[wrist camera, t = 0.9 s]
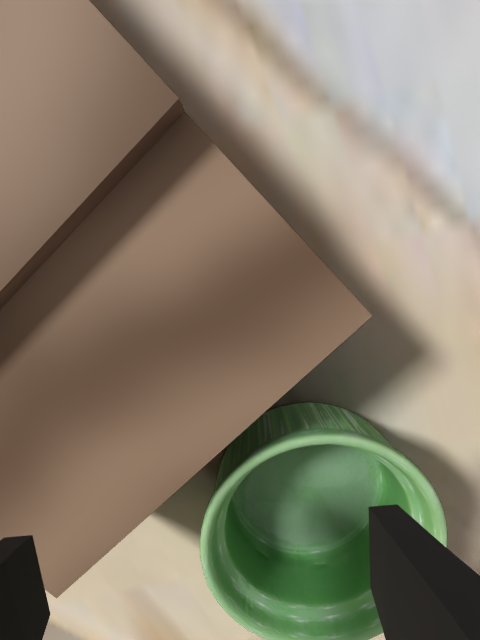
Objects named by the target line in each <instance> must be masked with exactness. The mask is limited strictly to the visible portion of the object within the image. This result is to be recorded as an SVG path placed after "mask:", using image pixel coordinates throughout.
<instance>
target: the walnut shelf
mask: <svg viewBox="0 0 480 640" xmlns="http://www.w3.org/2000/svg"><path fill="white" fill-rule="evenodd" d="M370 317H372V315H371V314H370V313H369V312H368V311H367V309H366V308H365V307H364V306H363V305H362V304H361V303H360V302H359V301H358V300H357V299H356V297H355V296H354V295H353V294H352V293H351V292H350V291H349V290H348V289H347V288H346V287H345V285H344V284H343V283H342V282H341V281H340V280H339V279H338V278H337V277H336V276H335V275H334V274H333V272H332V271H331V270H330V269H329V268H328V267H327V266H326V265H325V264H324V263H323V262H322V260H321V259H320V258H319V257H318V256H317V255H316V254H315V253H314V252H313V251H312V250H311V248H310V247H309V246H308V245H307V244H306V243H305V242H304V241H303V240H302V239H301V238H300V237H299V235H298V234H297V233H296V232H295V231H294V230H293V229H292V228H291V227H290V226H289V225H288V223H287V222H286V221H285V220H284V219H283V218H282V217H281V216H280V215H279V214H278V213H277V211H276V210H275V209H274V208H273V207H272V206H271V205H270V204H269V203H268V202H267V201H266V200H265V198H264V197H263V196H262V195H261V194H260V193H259V192H258V191H257V190H256V189H255V188H254V186H253V185H252V184H251V183H250V182H249V181H248V180H247V179H246V178H245V177H244V176H243V175H242V173H241V172H240V171H239V170H238V169H237V168H236V167H235V166H234V165H233V164H232V163H231V161H230V160H229V159H228V158H227V157H226V156H225V155H224V154H223V153H222V152H221V151H220V149H219V148H218V147H217V146H216V145H215V144H214V143H213V142H212V141H211V140H210V139H209V138H208V136H207V135H206V134H205V133H204V132H203V131H202V130H201V129H200V128H199V127H198V126H197V124H196V123H195V122H194V121H193V120H192V119H191V118H190V117H189V116H188V115H187V114H186V112H185V111H184V109H183V106H182V104H181V102H180V99H179V98H178V97H177V96H176V95H175V93H174V92H173V91H172V90H171V89H170V88H169V87H168V86H167V85H166V84H165V83H164V81H163V80H162V79H161V78H160V77H159V76H158V75H157V74H156V73H155V72H154V71H153V69H152V68H151V67H150V66H149V65H148V64H147V63H146V62H145V61H144V60H143V58H142V57H141V56H140V55H139V54H138V53H137V52H136V51H135V50H134V49H133V48H132V46H131V45H130V44H129V43H128V42H127V41H126V40H125V39H124V38H123V37H122V36H121V34H120V33H119V32H118V31H117V30H116V29H115V28H114V27H113V26H112V25H111V24H110V22H109V21H108V20H107V19H106V18H105V17H104V16H103V15H102V14H101V13H100V12H99V10H98V9H97V8H96V7H95V6H94V5H93V4H92V3H91V2H90V1H89V0H0V540H2V539H3V538H4V537H16V536H27V535H33V540H34V544H35V548H36V553H37V557H38V562H39V566H40V571H41V575H42V580H43V584H44V589H45V590H46V591H48V592H49V593H50V594H52V595H53V596H54V597H56V598H57V597H59V596H60V595H61V594H62V593H63V592H64V591H65V590H66V589H68V588H69V587H70V586H71V585H72V584H73V583H74V582H75V581H76V580H78V579H79V578H80V577H81V576H82V575H83V574H84V573H85V572H87V571H88V570H89V569H90V568H91V567H92V566H93V565H94V564H95V563H97V562H98V561H99V560H100V559H101V558H102V557H103V556H104V555H106V554H107V553H108V552H109V551H110V550H111V549H112V548H113V547H114V546H116V545H117V544H118V543H119V542H120V541H121V540H122V539H123V538H125V537H126V536H127V535H128V534H129V533H130V532H131V531H132V530H133V529H135V528H136V527H137V526H138V525H139V524H140V523H141V522H142V521H144V520H145V519H146V518H147V517H148V516H149V515H150V514H151V513H152V512H154V511H155V510H156V509H157V508H158V507H159V506H160V505H161V504H163V503H164V502H165V501H166V500H167V499H168V498H169V497H170V496H171V495H173V494H174V493H175V492H176V491H177V490H178V489H179V488H180V487H182V486H183V485H184V484H185V483H186V482H187V481H188V480H189V479H190V478H192V477H193V476H194V475H195V474H196V473H197V472H198V471H199V470H201V469H202V468H203V467H204V466H205V465H206V464H207V463H208V462H209V461H211V460H212V459H213V458H214V457H215V456H216V455H217V454H218V453H220V452H221V451H222V450H223V449H224V448H225V447H226V446H227V445H228V444H230V443H231V442H232V441H233V440H234V439H235V438H236V437H237V436H239V435H240V434H241V433H242V432H243V431H244V430H245V429H246V428H247V427H249V426H250V425H251V424H252V423H253V422H254V421H255V420H256V419H258V418H259V417H260V416H261V415H262V414H263V413H264V412H265V411H266V410H268V409H269V408H270V407H271V406H272V405H273V404H274V403H275V402H277V401H278V400H279V399H280V398H281V397H282V396H283V395H284V394H285V393H287V392H288V391H289V390H290V389H291V388H292V387H293V386H294V385H296V384H297V383H298V382H299V381H300V380H301V379H302V378H303V377H304V376H306V375H307V374H308V373H309V372H310V371H311V370H312V369H313V368H315V367H316V366H317V365H318V364H319V363H320V362H321V361H322V360H323V359H325V358H326V357H327V356H328V355H329V354H330V353H331V352H332V351H334V350H335V349H336V348H337V347H338V346H339V345H340V344H341V343H342V342H344V341H345V340H346V339H347V338H348V337H349V336H350V335H351V334H353V333H354V332H355V331H356V330H357V329H358V328H359V327H360V326H362V325H363V324H364V323H365V322H366V321H367V320H368V319H369V318H370Z"/></svg>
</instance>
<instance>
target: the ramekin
mask: <svg viewBox="0 0 480 640" xmlns="http://www.w3.org/2000/svg"><path fill="white" fill-rule="evenodd" d="M395 504H397V505H399V506H400V507H401V508H402V509H403V510H404V511H405V512H407V513H408V514H409V515H410V516H411V517H412V518H413V519H414V520H416V521H417V522H418V523H419V524H420V525H421V526H422V527H423V528H425V529H426V530H427V531H428V532H429V533H430V534H431V535H432V536H434V537H435V538H436V539H437V540H438V541H439V542H440V543H442V544H443V545H444V546H445V547H446V548H447V525H446V519H445V514H444V510H443V507H442V504H441V502H440V500H439V497H438V495H437V493H436V491H435V489H434V488H433V486H432V485H431V483H430V482H429V480H428V479H427V478H426V476H425V475H424V474H423V473H422V471H421V470H420V469H419V468H418V467H417V466H416V465H415V464H414V463H413V462H411V461H410V460H409V459H408V458H407V457H406V456H404V455H403V454H402V453H400V452H399V451H397V450H396V449H394V448H393V447H392V446H391V445H390V444H389V443H388V441H387V440H386V439H385V438H384V437H383V436H382V435H381V434H380V433H379V432H378V431H377V430H376V429H375V428H373V427H372V426H371V425H370V424H369V423H368V422H367V421H365V420H364V419H362V418H361V417H359V416H358V415H356V414H354V413H352V412H350V411H348V410H346V409H343V408H340V407H337V406H334V405H330V404H322V403H310V402H308V403H296V404H290V405H285V406H280V407H277V408H274V409H272V410H270V411H267V412H265V413H264V414H262V415H261V416H260V417H259V418H258V419H256V420H255V421H254V422H253V423H252V424H251V425H250V426H249V427H247V428H246V429H245V430H244V431H243V432H242V433H241V434H240V435H239V436H237V437H236V438H235V439H234V440H233V441H232V442H231V443H230V445H229V447H228V448H227V450H226V452H225V454H224V456H223V459H222V461H221V464H220V469H219V472H218V476H217V480H216V485H215V490H214V493H213V495H212V497H211V500H210V502H209V504H208V507H207V510H206V513H205V516H204V519H203V524H202V528H201V535H200V558H201V564H202V569H203V573H204V576H205V579H206V582H207V584H208V587H209V589H210V591H211V592H212V594H213V596H214V597H215V599H216V600H217V602H218V603H219V604H220V606H221V607H222V608H223V609H224V610H225V611H226V612H227V613H228V614H229V615H230V616H231V617H232V618H233V619H234V620H235V621H236V622H237V623H239V624H240V625H242V626H243V627H244V628H245V629H247V630H249V631H250V632H252V633H254V634H256V635H258V636H260V637H262V638H265V639H267V640H368V639H371V638H373V637H375V636H377V635H379V634H381V633H383V628H382V625H381V622H380V619H379V615H378V612H377V608H376V605H375V602H374V598H373V595H372V591H371V588H370V550H369V509H368V507H371V506H383V505H395Z"/></svg>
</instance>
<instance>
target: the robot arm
mask: <svg viewBox="0 0 480 640" xmlns="http://www.w3.org/2000/svg"><path fill="white" fill-rule="evenodd" d="M368 509H369V550H370V588H371V591H372V595H373V598H374V602H375V605H376V608H377V612H378V615H379V619H380V622H381V625H382V628H383V632H384V635H385V638H386V640H480V576H479V575H478V574H477V573H476V572H475V571H473V570H472V569H471V568H470V567H469V566H467V565H466V564H465V563H464V562H462V561H461V560H460V559H459V558H458V557H457V556H455V555H454V554H453V553H452V552H451V551H450V550H448V549H447V548H446V547H445V546H444V545H443V544H442V543H440V542H439V541H438V540H437V539H436V538H435V537H434V536H432V535H431V534H430V533H429V532H428V531H427V530H426V529H425V528H423V527H422V526H421V525H420V524H419V523H418V522H417V521H416V520H414V519H413V518H412V517H411V516H410V515H409V514H408V513H407V512H405V511H404V510H403V509H402V508H401V507H400V506H399V505H397V504H395V505H383V506H371V507H368ZM49 616H50V611H49V606H48V602H47V598H46V593H45V589H44V584H43V580H42V575H41V571H40V566H39V562H38V557H37V553H36V548H35V544H34V540H33V535H27V536H16V537H4V538H3V539H2V540H0V640H42V638H43V635H44V632H45V629H46V626H47V623H48V619H49Z"/></svg>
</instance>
